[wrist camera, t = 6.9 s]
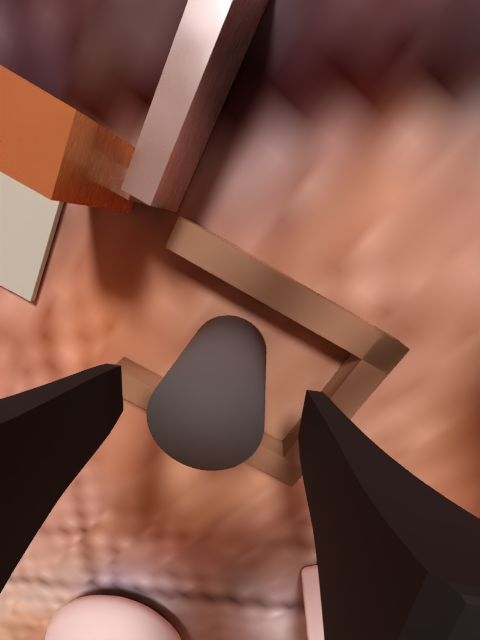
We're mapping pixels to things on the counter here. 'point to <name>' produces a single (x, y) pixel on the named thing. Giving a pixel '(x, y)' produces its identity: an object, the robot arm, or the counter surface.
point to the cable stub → (213, 397)
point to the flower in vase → (108, 621)
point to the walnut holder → (299, 305)
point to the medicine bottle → (312, 603)
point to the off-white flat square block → (24, 236)
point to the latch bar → (158, 131)
